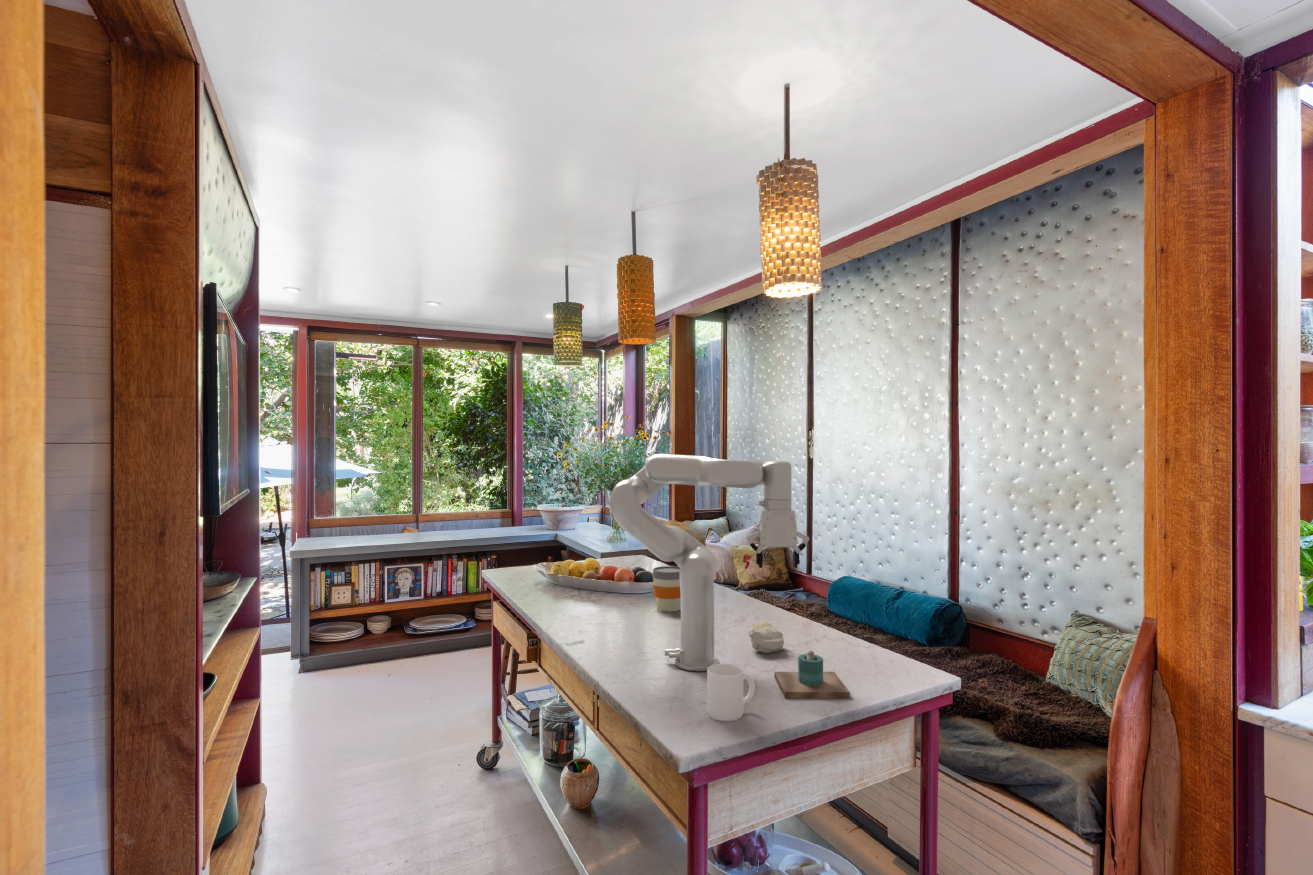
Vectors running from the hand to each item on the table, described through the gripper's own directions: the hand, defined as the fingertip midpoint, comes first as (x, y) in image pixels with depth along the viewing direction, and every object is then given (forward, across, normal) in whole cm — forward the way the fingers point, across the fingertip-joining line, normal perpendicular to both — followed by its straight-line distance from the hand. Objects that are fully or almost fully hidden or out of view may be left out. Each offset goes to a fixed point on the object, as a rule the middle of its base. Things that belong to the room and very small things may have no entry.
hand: (777, 567), depth 176 cm
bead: (+27, +6, -13) cm, 30 cm away
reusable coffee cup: (+28, -29, +65) cm, 77 cm away
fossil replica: (+29, 0, +16) cm, 33 cm away
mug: (+28, -16, -29) cm, 44 cm away
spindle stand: (+28, +6, -13) cm, 32 cm away
